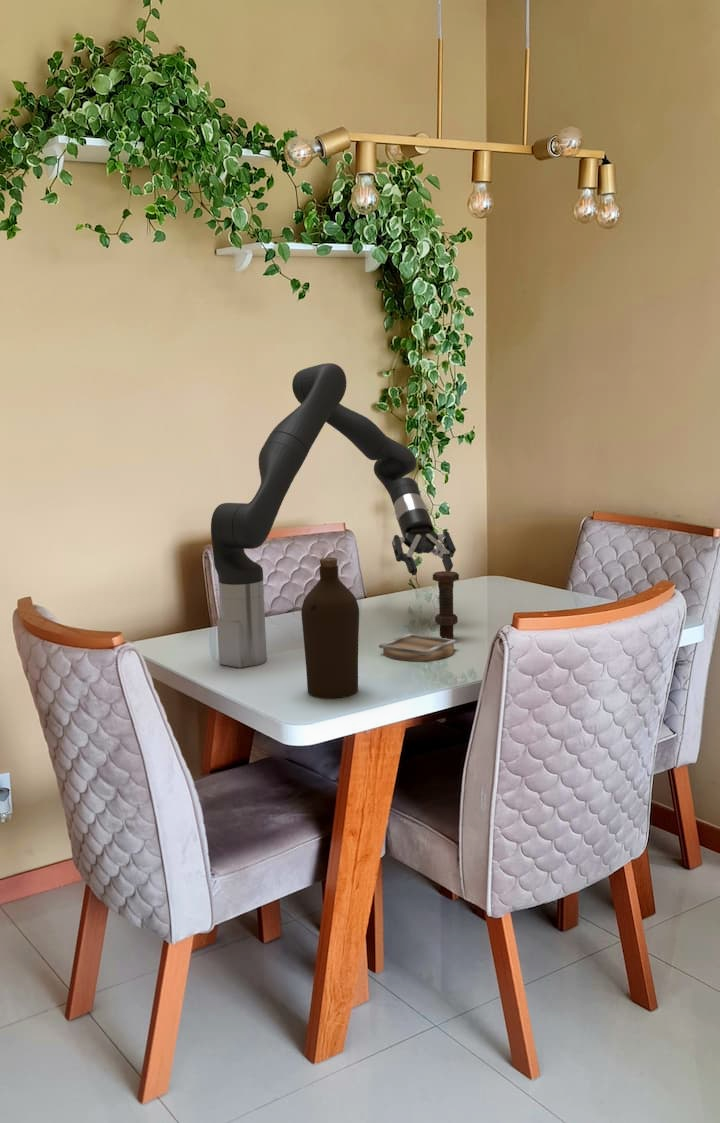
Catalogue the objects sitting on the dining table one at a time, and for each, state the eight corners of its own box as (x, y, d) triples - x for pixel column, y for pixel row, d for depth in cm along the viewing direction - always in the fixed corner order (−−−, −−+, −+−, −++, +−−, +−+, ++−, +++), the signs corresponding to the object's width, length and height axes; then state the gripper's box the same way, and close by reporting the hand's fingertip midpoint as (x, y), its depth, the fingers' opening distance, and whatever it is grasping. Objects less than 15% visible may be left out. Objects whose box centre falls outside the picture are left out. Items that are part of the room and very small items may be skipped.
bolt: (459, 636, 224) (458, 570, 221) (459, 641, 219) (458, 574, 216) (433, 636, 224) (432, 571, 222) (433, 641, 219) (432, 575, 217)
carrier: (429, 664, 200) (429, 654, 200) (369, 655, 209) (369, 645, 209) (466, 648, 212) (466, 639, 212) (408, 640, 221) (408, 631, 221)
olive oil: (359, 699, 179) (355, 563, 175) (300, 699, 179) (295, 564, 175) (363, 682, 189) (359, 553, 185) (308, 683, 190) (303, 554, 186)
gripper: (388, 508, 230) (407, 564, 221) (444, 505, 235) (465, 559, 226) (381, 528, 236) (399, 584, 227) (436, 525, 241) (456, 579, 232)
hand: (432, 571), depth 227 cm, fingers open, 8 cm apart
